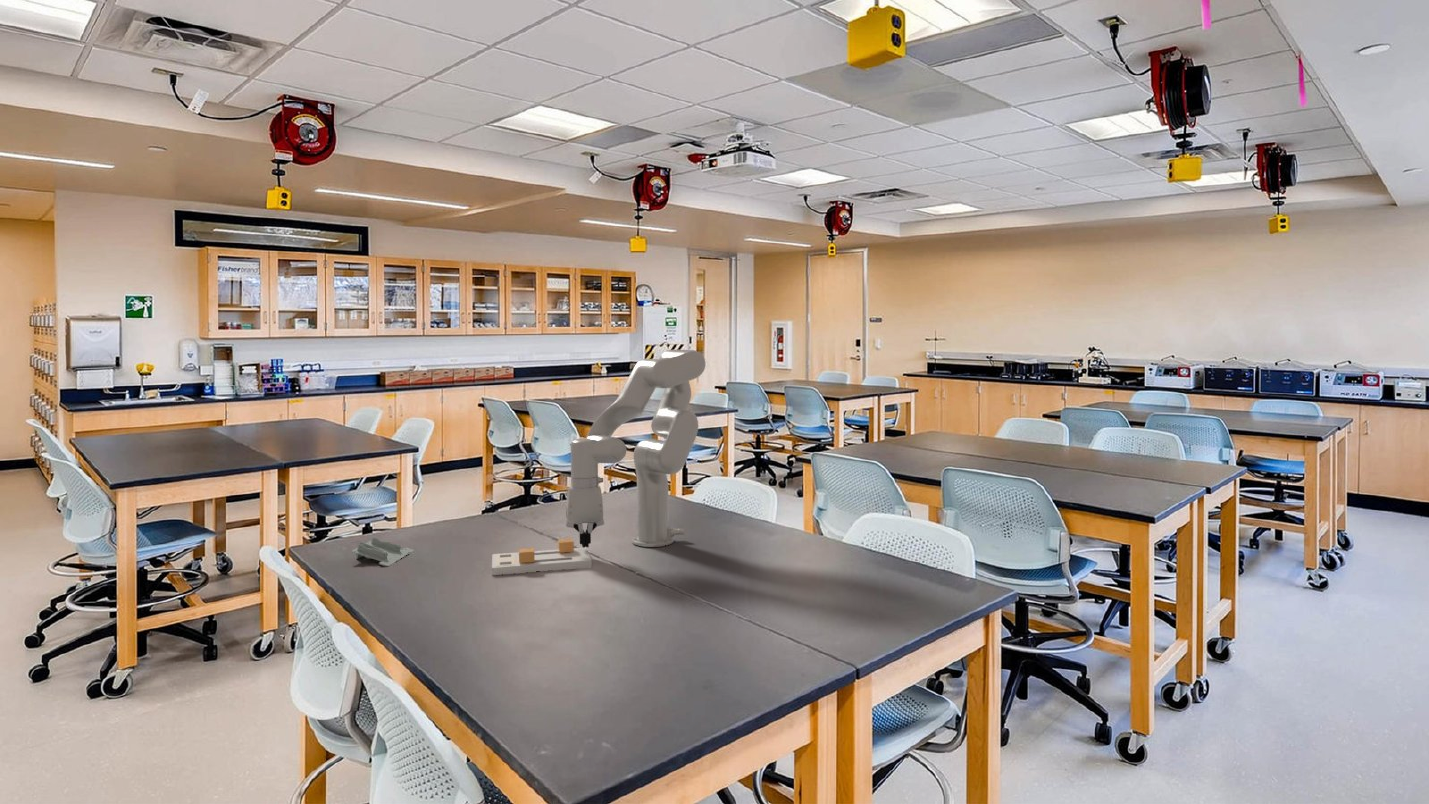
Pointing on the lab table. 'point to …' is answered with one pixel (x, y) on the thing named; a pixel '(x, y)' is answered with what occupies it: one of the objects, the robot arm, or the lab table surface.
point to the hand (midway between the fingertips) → (585, 546)
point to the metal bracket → (381, 551)
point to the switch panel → (541, 561)
